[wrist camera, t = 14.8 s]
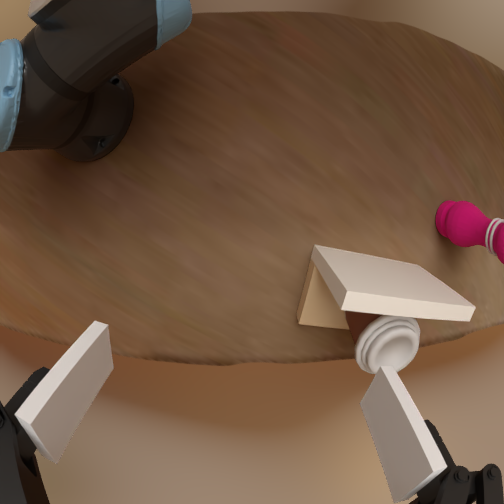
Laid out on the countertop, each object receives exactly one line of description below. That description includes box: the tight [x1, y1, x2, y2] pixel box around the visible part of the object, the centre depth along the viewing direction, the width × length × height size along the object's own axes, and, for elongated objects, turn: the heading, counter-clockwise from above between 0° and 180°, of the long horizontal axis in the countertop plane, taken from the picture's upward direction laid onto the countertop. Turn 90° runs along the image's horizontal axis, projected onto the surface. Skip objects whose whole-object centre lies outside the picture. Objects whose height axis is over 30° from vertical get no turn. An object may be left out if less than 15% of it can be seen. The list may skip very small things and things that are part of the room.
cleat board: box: [296, 245, 476, 330], centre depth 34 cm, size 12×19×16 cm, turn 80°
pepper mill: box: [436, 201, 504, 264], centre depth 28 cm, size 7×7×20 cm
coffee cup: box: [344, 310, 420, 374], centre depth 33 cm, size 9×9×12 cm
